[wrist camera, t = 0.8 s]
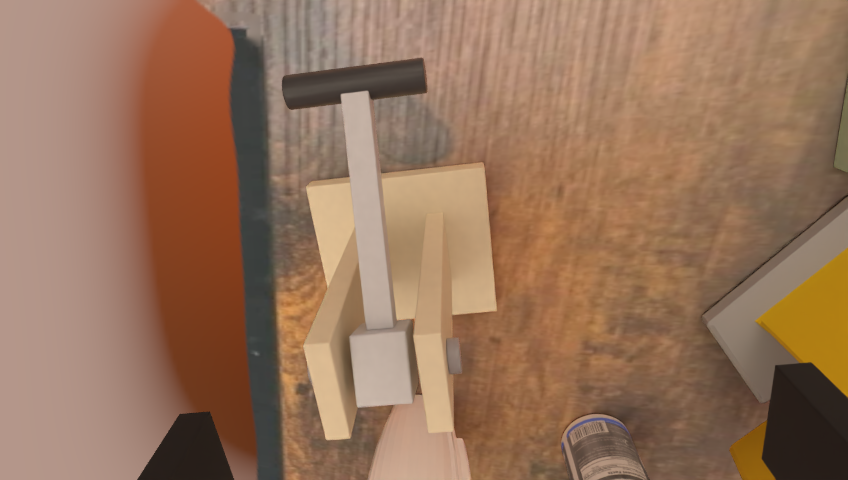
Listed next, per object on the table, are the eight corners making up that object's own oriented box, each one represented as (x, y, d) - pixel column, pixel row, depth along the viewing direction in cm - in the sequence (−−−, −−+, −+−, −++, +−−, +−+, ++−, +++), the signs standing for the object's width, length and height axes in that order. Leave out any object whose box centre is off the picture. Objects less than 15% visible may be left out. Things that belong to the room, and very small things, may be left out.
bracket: (310, 181, 32) (217, 295, 19) (483, 161, 31) (508, 267, 18) (338, 315, 35) (276, 489, 22) (495, 301, 34) (524, 474, 21)
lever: (295, 83, 23) (274, 67, 20) (426, 66, 22) (421, 48, 20) (329, 391, 23) (313, 411, 21) (458, 381, 23) (457, 401, 20)
